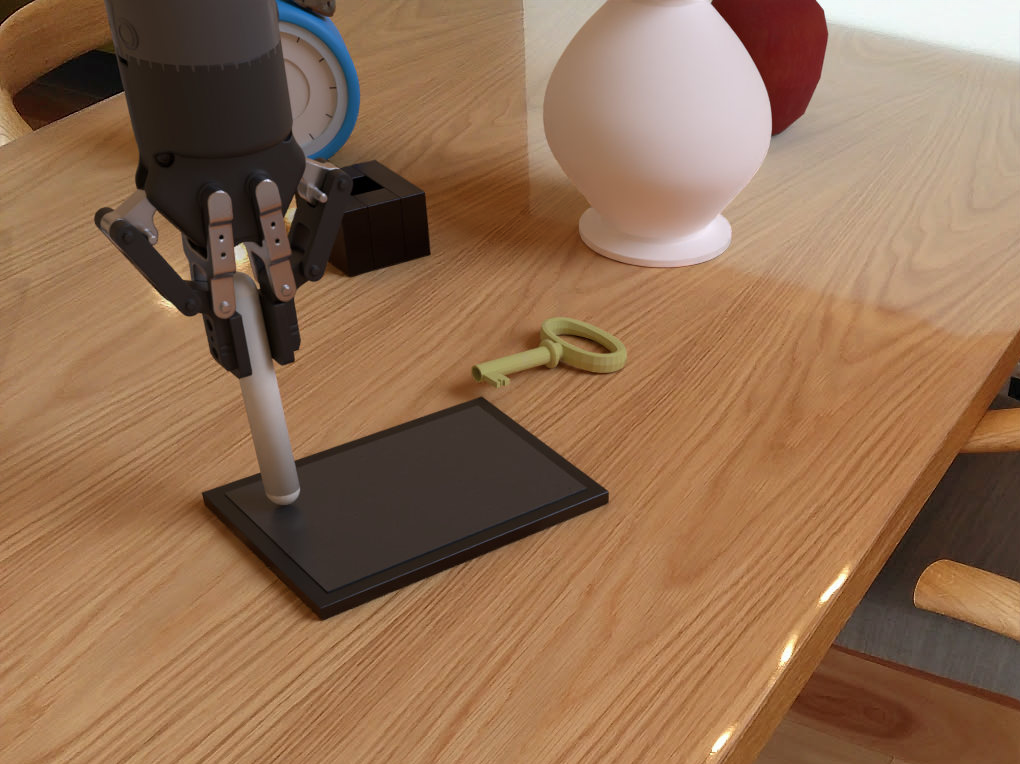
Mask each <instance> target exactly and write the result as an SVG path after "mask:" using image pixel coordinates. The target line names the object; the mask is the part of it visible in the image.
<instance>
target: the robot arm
mask: <svg viewBox="0 0 1020 764" xmlns="http://www.w3.org/2000/svg"><path fill="white" fill-rule="evenodd" d="M103 4H104V8H105V12H106V16H107V22H108V26H109V30H110V34H111V39H112V42H113V43H112V44H113V47H114V48H113V49H114V52H115V56H116V61H117V65H118V70H119V75H120V79H121V84H122V88H123V93H124V97H125V101H126V106H127V111H128V114H129V119H130V124H131V128H132V132H133V136H134V139H135V143H136V145H137V148H138V163H137V167H136V171H135V175H134V182H135V188H136V190H135V191H134V192H133V193H131V195H129V196H128V197H127V198H126V199H125V200H124V201H123V202H121V204H119V205H118V206H117V207H116V208H115V209H113V207H109V206H103V207H100V208H99V209H98V210H96V212H95V213H94V216H93V221H94V222H93V223H94V225H95V226H96V228H97V229H98V231H100V232H101V233H102V234H103V235H104V237H106V238H107V240H108V241H109V242H110V243H111V244H112V246H114V247H115V248H116V250H118V251H119V252H120V254H121V255H123V257H124V258H125V259H126V260H127V261H128V262H129V263H130V264H131V265H132V266H133V267H134V269H135V270H137V272H138V273H139V274H140V275H141V276H142V277H143V278H144V279H145V280H146V281H147V282H148V284H150V285H151V287H152V288H153V289H154V290H155V291H156V292H157V293H158V295H160V296H161V297H162V298H163V299H165V300H166V301H168V302H169V303H170V304H172V305H173V306H174V307H175V308H176V309H177V311H179V312H180V313H181V314H182V315H183V316H185V317H188V318H192V317H195V316H197V315H198V314H202V315H201V316H202V320H203V325H204V330H205V335H206V340H207V343H208V348H209V349H208V350H209V354H210V355H211V357H212V358H213V359H214V361H215V362H216V363H217V364H218V365H219V366H220V367H222V368H223V369H224V370H225V371H226V372H230V373H231V374H232V375H233V376H234V377H236V379H238V380H239V379H241V378H245V377H248V376H251V375H252V367H251V362H250V357H249V352H248V346H247V341H246V336H245V331H244V325H243V320H242V315H241V314H239V313H238V312H237V311H236V301H235V292H234V282H233V275H234V274H235V273H236V271H237V261H236V253H235V248H236V247H238V246H239V245H241V244H242V245H243V246H244V248H245V249H246V253H247V256H248V257H247V258H248V260H249V264H250V268H251V271H252V275H253V278H254V279H253V280H254V282H255V283H256V282H257V284H258V287H259V288H257V290H258V295H259V299H260V304H261V308H262V313H263V318H264V322H265V327H266V332H267V336H268V341H269V346H270V350H271V355H272V360H273V361H275V362H276V363H277V364H278V365H280V366H281V367H284V366H286V365H290V364H293V363H295V362H296V357H295V352H297V351H299V350H300V348H301V347H300V346H301V343H302V339H301V333H300V327H299V320H298V314H297V309H296V302H295V296H296V294H297V291H298V290H299V289H300V288H301V287H302V286H303V285H305V284H306V283H307V282H312V283H315V282H316V283H317V282H319V281H321V279H323V277H324V275H325V272H326V269H327V266H328V263H329V262H328V260H329V257H330V254H331V251H332V248H333V245H334V242H335V239H336V236H337V233H338V230H339V227H340V224H341V221H342V218H343V215H344V212H345V209H346V206H347V203H348V200H349V197H350V194H351V191H352V188H353V180H352V178H351V176H350V175H348V174H347V173H345V172H344V171H342V170H341V169H339V168H340V167H337V166H336V165H335V164H334V163H332V162H330V160H329V161H327V160H326V159H324V158H316V159H314V160H312V159H310V158H307V157H305V154H304V152H303V150H302V148H301V147H300V146H299V144H298V143H297V142H296V140H295V138H294V135H293V133H292V125H293V117H292V110H291V104H290V97H289V90H288V84H287V77H286V70H285V64H284V57H283V51H282V44H281V37H280V31H279V10H278V6H277V3H276V1H275V0H103ZM297 188H298V193H299V195H300V198H299V201H298V205H297V207H296V208H295V211H294V214H293V217H292V221H291V224H290V227H289V230H288V231H287V227H286V224H285V217H286V215H287V212H288V211H289V208H290V206H291V203H292V201H293V199H294V198H295V192H296V190H297ZM156 212H158V213H159V214H160V215H161V216H162V217H163V218H164V219H165V220H166V221H168V222H169V223H170V224H171V225H172V226H173V227H174V228H176V229H177V230H178V231H179V232H180V236H181V243H182V249H183V254H184V256H185V257H186V259H187V262H188V265H189V267H188V268H189V274H190V279H183V278H182V276H181V275H180V274H179V273H178V272H177V271H176V270H175V269H174V267H173V266H172V265H171V264H170V263H169V262H168V261H167V260H166V258H164V257H163V255H161V253H160V252H159V251H158V250H157V249H156V248H155V245H157V244H158V242H159V230H158V228H157V227H156V225H155V223H154V217H155V214H156Z"/></svg>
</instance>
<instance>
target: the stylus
mask: <svg viewBox="0 0 1020 764" xmlns="http://www.w3.org/2000/svg"><path fill="white" fill-rule="evenodd" d="M233 282H234V292H235V301H236V311H237V312H238V313H239V314H241V315H242V320H243V325H244V331H245V336H246V341H247V346H248V352H249V357H250V362H251V367H252V375H251V376H248V377H245V378H241V379H238V383H239V386H240V391H241V395H242V399H243V403H244V407H245V413H246V416H247V420H248V424H249V425H248V426H249V429H250V434H251V437H252V442H253V446H254V451H255V456H256V459H257V463H258V467H259V473H260V472H261V476H262V481H263V485H264V489H265V493H266V495H267V497H268V498H269V499H270V500H271V501H272V502H274V503H276V504H279V505H288V504H291V503H292V502H294V501H295V500H296V499H297V497H298V495H299V493H300V485H299V480H298V476H297V471H296V466H295V462H294V461H295V456H294V453H293V448H292V444H291V438H290V435H289V430H288V426H287V420H286V416H285V412H284V407H283V402H282V396H281V391H280V388H279V383H278V379H277V374H276V369H275V364H274V359H272V355H271V350H270V346H269V341H268V336H267V332H266V327H265V322H264V318H263V313H262V308H261V304H260V299H259V295H258V290H257V289H258V286H257V284H256V281H255V280H254V279H253V278H252V277H251V276H250V275H249V274H247V273H245V272H242V271H238V270H236V273H235V274H234V275H233Z"/></svg>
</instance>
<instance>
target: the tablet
mask: <svg viewBox="0 0 1020 764" xmlns="http://www.w3.org/2000/svg"><path fill="white" fill-rule="evenodd" d="M294 462H295V466H296V471H297V476H298V480H299V485H300V493H299V495H298V497H297V499H296V500H295V501H294V502H292V503H291V504H288V505H279V504H276V503H274V502H272V501H271V500H270V499H269V498H268V497H267V495H266V493H265V489H264V485H263V481H262V476H261V472H260V471H259V472H257V473H254V474H252V475H248V476H246V477H243V478H240V479H237V480H234V481H232V482H227V483H225V484H223V485H219V486H216V487H213V488H210V489H207V490H205V491H201V497H202V501H203V505H204V506H205V507H206V508H207V509H208V510H209V511H210V512H211V513H212V514H213V515H214V516H215V517H216V518H217V519H218V520H219V521H220V522H222V524H223V525H225V526H226V527H227V529H229V530H230V532H232V534H233V535H235V536H236V537H237V539H239V540H240V541H241V542H242V544H244V545H245V547H247V548H248V549H249V551H251V552H252V553H253V554H254V555H255V556H256V557H257V558H258V559H259V561H261V562H262V563H263V564H264V565H265V566H266V567H267V568H268V569H269V570H270V571H271V572H272V573H273V574H274V575H276V577H278V579H279V580H281V581H282V582H283V583H284V584H285V586H287V587H288V588H289V589H290V591H292V593H294V594H295V595H296V596H297V597H298V598H299V599H300V600H301V601H302V602H303V603H304V604H305V605H306V606H307V607H308V608H309V609H310V610H311V611H312V612H313V613H314V614H315V615H316V616H317V617H318V618H319V619H320V620H321V621H325V620H327V619H330V618H332V617H335V616H337V615H340V614H342V613H345V612H347V611H350V610H352V609H354V608H357V607H359V606H361V605H364V604H366V603H368V602H371V601H373V600H374V601H375V600H376V599H379V598H381V597H383V596H385V595H388V594H391V593H393V592H395V591H398V590H400V589H403V588H405V587H408V586H410V585H413V584H415V583H418V582H420V581H422V580H425V579H427V578H429V577H432V576H434V575H437V574H440V573H442V572H445V571H447V570H449V569H451V568H454V567H456V566H459V565H461V564H464V563H466V562H468V561H472V560H474V559H476V558H478V557H481V556H483V555H485V554H488V553H490V552H493V551H495V550H497V549H500V548H503V547H505V546H507V545H510V544H513V543H515V542H517V541H519V540H523V539H525V538H528V537H529V536H532V535H534V534H537V533H539V532H542V531H544V530H547V529H549V528H551V527H553V526H556V525H558V524H562V523H563V522H565V521H569V520H570V519H573V518H576V517H579V516H580V515H583V514H585V513H588V512H590V511H593V510H595V509H597V508H599V507H602V506H605V505H607V504H609V503H610V491H609V490H608V489H606V488H605V487H604V486H602V485H601V484H600V483H598V482H597V481H596V480H595V479H594V478H592V477H591V476H589V475H588V474H586V473H585V472H584V471H582V470H581V469H580V468H579V467H577V465H574V463H572V462H570V461H569V460H568V459H567V458H565V457H564V456H562V455H561V454H559V452H557V451H556V450H555V449H553V448H552V447H551V446H549V445H548V444H546V442H544V441H542V440H541V439H540V438H539V437H537V436H536V435H535V434H533V433H532V432H530V431H529V430H528V429H527V428H525V427H524V426H523V425H521V424H520V423H518V422H517V421H515V420H514V419H513V418H512V417H510V416H509V415H508V414H506V413H505V412H504V411H503V410H501V409H499V408H498V406H496V405H494V404H493V403H492V402H490V401H489V400H487V398H485V397H484V396H479V397H476V398H473V399H470V400H468V401H464V402H461V403H459V404H455V405H452V406H450V407H447V408H444V409H441V410H438V411H435V412H433V413H432V412H431V413H429V414H427V415H424V416H420V417H418V418H415V419H412V420H409V421H405V422H403V423H400V424H397V425H394V426H391V427H388V428H385V429H383V430H380V431H377V432H374V433H371V434H368V435H364V436H362V437H360V438H357V439H353V440H351V441H347V442H345V443H342V444H339V445H336V446H333V447H330V448H327V449H324V450H322V451H319V452H315V453H313V454H309V455H307V456H304V457H301V458H297V459H294Z"/></svg>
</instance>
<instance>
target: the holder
mask: <svg viewBox="0 0 1020 764" xmlns="http://www.w3.org/2000/svg"><path fill="white" fill-rule="evenodd" d="M338 168H339V169H341V170H342V171H344V172H345V173H347V174H348V175H350V176H351V178H352V180H353V188H352V191H351V194H350V197H349V200H348V203H347V206H346V209H345V212H344V215H343V218H342V221H341V224H340V227H339V230H338V233H337V236H336V239H335V242H334V245H333V248H332V251H331V254H330V257H329V260H328V263H330V264H331V265H332V266H333V267H335V268H337V269H338V270H339V271H340V272H342V273H343V274H344V275H346V276H347V277H349V278H351V277H355V276H358V275H361V274H366V273H369V272H373V271H377V270H380V269H383V268H387V267H391V266H395V265H398V264H401V263H402V264H403V263H404V262H409V261H413V260H417V259H420V258H424V257H427V256H430V255H432V254H431V241H430V231H429V229H430V228H429V219H428V207H427V198H426V197H427V196H426V191H424V190H423V189H421V188H420V187H419V186H418V185H415V184H414V183H412V182H411V181H409V180H408V179H407V178H404V177H403V176H402V175H400V174H399V173H397V172H396V171H394V170H392V169H391V168H389V167H387V166H386V165H384V164H383V163H382V162H380V161H378V160H377V159H372V160H368V161H363V162H360V163H355V164H350V165H346V166H342V167H338ZM294 198H295V205H296V206H295V207H296V208H297V205H298V201H299V198H300V195H299V193H298V188H297V190H296V192H295V194H294Z"/></svg>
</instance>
